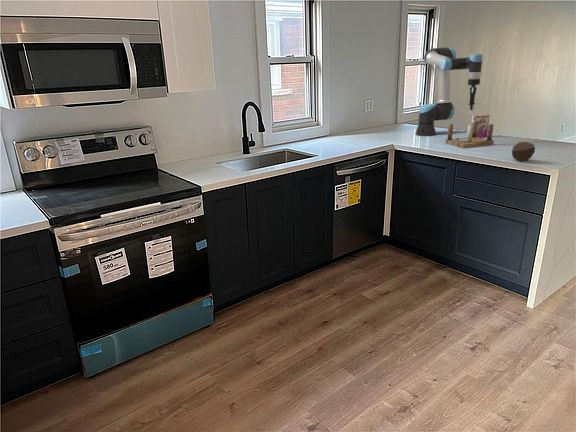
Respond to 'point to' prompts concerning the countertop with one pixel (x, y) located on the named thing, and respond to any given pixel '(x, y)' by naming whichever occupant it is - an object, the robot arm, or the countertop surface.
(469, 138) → the crank handle
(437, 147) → the countertop surface
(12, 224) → the countertop surface
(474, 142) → the wooden peg board
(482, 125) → the candy bar box
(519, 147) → the rock
